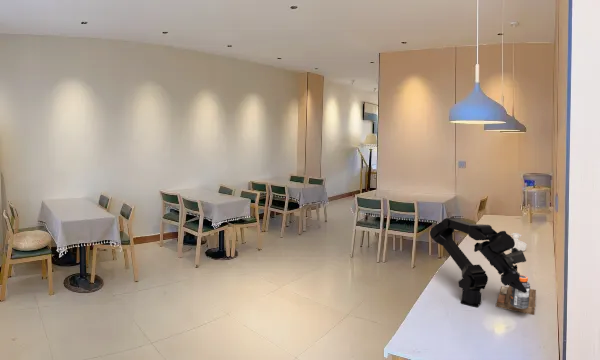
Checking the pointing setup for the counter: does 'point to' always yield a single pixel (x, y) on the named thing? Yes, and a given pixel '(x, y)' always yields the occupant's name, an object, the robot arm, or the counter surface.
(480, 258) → the counter surface
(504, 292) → the socket frame
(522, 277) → the pill bottle
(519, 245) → the white tied bag
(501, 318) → the counter surface
